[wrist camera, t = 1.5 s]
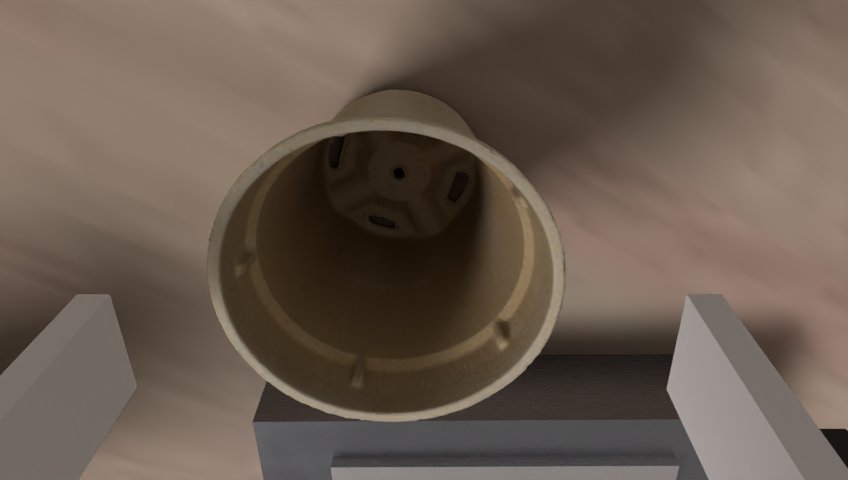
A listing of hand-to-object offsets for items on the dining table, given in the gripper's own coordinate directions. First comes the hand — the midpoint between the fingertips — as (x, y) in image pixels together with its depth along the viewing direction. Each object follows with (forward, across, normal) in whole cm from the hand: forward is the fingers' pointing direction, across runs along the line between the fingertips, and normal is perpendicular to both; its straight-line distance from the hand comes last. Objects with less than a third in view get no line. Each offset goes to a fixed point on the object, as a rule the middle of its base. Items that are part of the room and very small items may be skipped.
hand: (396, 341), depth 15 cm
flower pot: (+11, 0, 0) cm, 11 cm away
